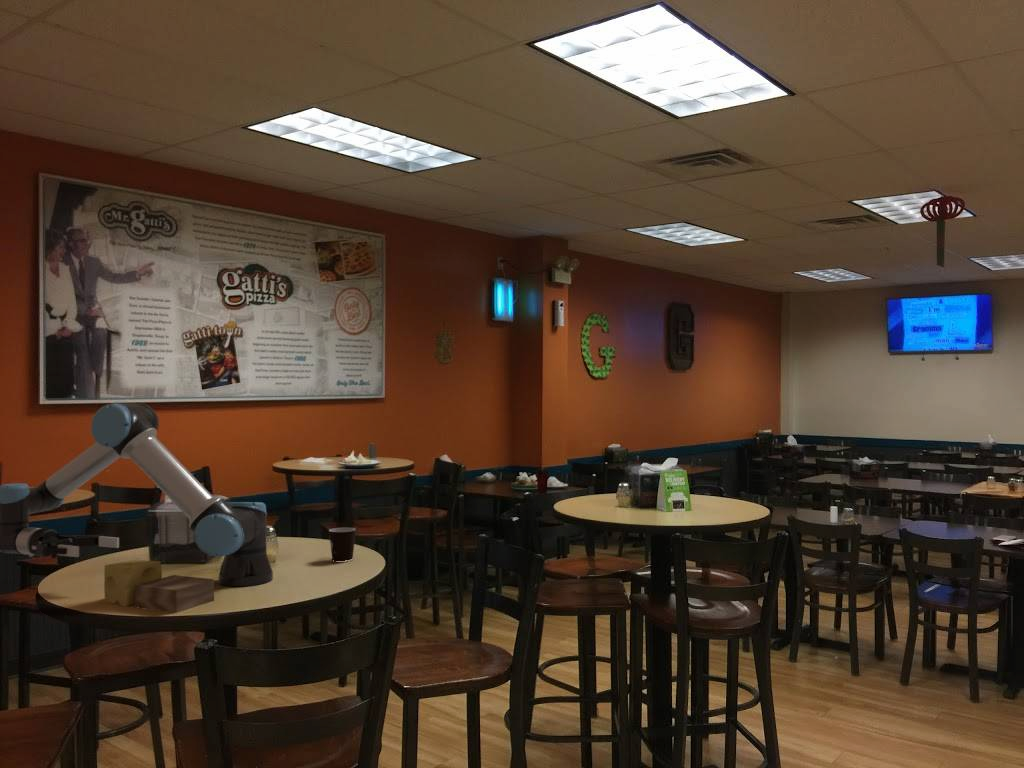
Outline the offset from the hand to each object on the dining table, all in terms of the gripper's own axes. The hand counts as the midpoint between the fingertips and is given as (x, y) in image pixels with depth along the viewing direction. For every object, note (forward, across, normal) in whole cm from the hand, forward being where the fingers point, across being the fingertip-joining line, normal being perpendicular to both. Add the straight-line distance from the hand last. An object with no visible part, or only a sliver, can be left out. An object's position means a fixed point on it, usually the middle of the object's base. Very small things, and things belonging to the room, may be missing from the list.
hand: (98, 547), depth 226 cm
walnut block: (+26, 0, -14) cm, 29 cm away
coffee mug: (+38, -64, -13) cm, 75 cm away
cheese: (+12, 0, -14) cm, 18 cm away
